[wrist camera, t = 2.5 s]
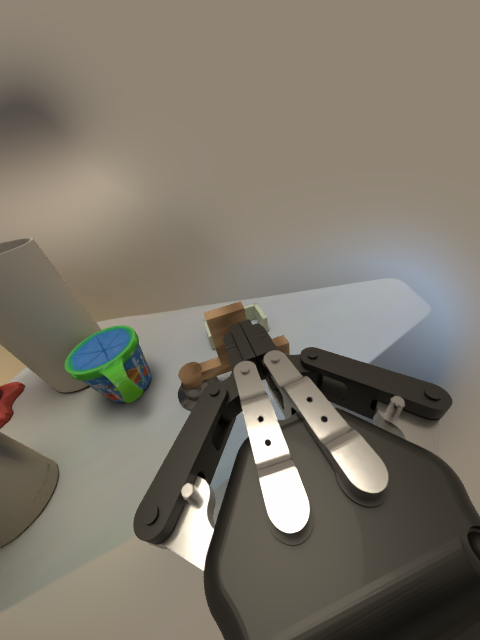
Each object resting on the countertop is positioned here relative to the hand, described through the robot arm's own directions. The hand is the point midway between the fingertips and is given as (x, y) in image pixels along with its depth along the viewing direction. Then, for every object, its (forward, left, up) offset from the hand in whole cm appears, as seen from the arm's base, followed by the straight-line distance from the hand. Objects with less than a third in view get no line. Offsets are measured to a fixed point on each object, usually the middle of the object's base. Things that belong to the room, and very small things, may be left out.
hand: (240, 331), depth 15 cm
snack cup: (-19, +19, -20) cm, 33 cm away
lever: (0, +12, -20) cm, 23 cm away
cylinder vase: (-29, +28, -20) cm, 45 cm away
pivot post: (-7, +12, -20) cm, 24 cm away
